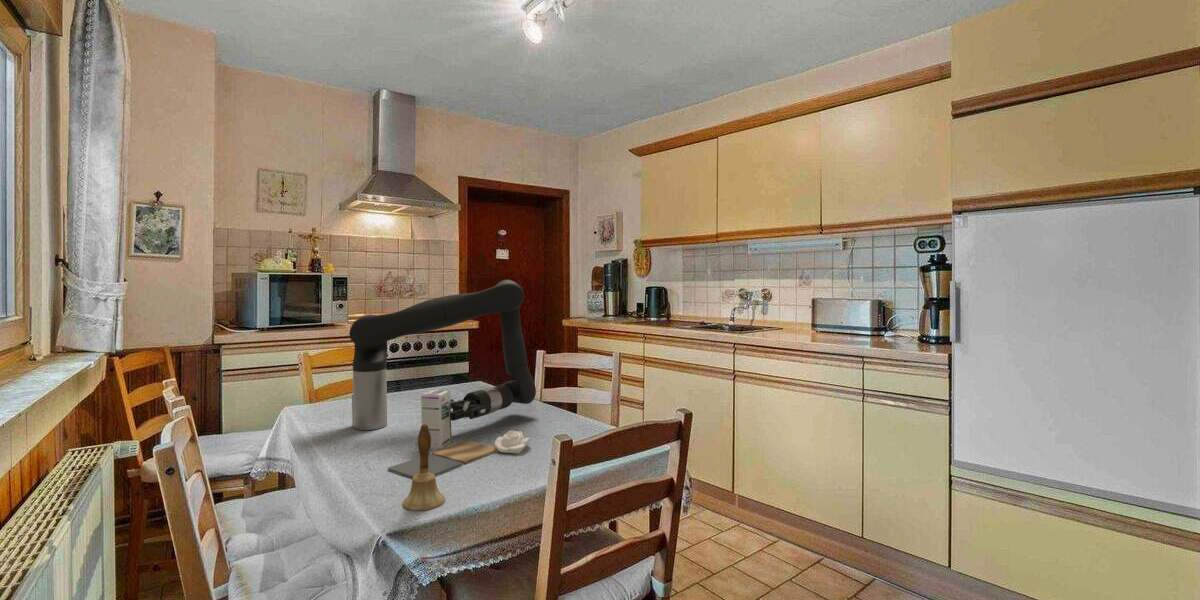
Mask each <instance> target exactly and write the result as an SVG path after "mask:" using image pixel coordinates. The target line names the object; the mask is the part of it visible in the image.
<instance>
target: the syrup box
mask: <svg viewBox="0 0 1200 600" xmlns="http://www.w3.org/2000/svg"><path fill="white" fill-rule="evenodd" d="M450 400H451V391H450V390H445V389H431V390H429V391H427V392H425V393H421V394H420V410H421V414H420V415H421V426H422V425H428V429H429V432H430V435H431V446H430V449H437V450H440V449H443V448H445V447H447V445H449V444H451V443H452V442H453V441H452V420H450V414H451V411H452V409H451V405H450Z"/></svg>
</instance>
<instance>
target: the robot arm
mask: <svg viewBox="0 0 1200 600" xmlns="http://www.w3.org/2000/svg"><path fill="white" fill-rule="evenodd" d="M524 299H525V293H524V290H523V288H522V287H521V285H519V283H517V282H515V281H514V280H511V279H503V280H501V281H499V282H497V283H496V284H495V285H494V286H491V287H489V288H486V289H483V290H480V291H477V292H471V293H468V292H467V293H458V294H457V293H455V294H450V295H449V294H448V295H443V296H440V297H435V298H432V299H427V300H425V301H422V302H418V303H416V304H414V305H411V306H409V307H406V308H404V309H400V310H397V311H395V312H391V313H386V314H379V315H376V314H375V315H374V314H366V315H364V316H361V317H359V318H357V319H355V321H353V323H352V324H351V326H350V329H349V332H348V333H349V338H350V340H351V342H352V343H353V344H354V354H353V358H352V359H353V360H352V385H353V386H352V391H353V393H352V395H351V415H352V416H351V417H352V420H351V421H352V422H351V423H352V425H351V426H353V428H354V429H355V430H358V431H359V430H360V431H368V430H369V431H372V430H379V429H382V428H384V427H386V426H387V425H388V393H387V392H388V390H387V389H388V388H387V386H388V385H387V382H388V380H387V360H388V342H389V341H391V340H395V339H398V338H401V337H404V336H409V335H415V334H421V333H427V332H432V331H435V330H441V329H443V328H447V327H451V326H454V325H458V324H461V323H465V322H467V321H470V320H472V319H476V318H478V317H482V316H487V315H491V314H492V315H493V314H498V316H499V321H500V326H501V335H502V349H503V360H504V366H505V367H504V368H505V371H506V374H508V375H509V376H511V377H513V378H514V379H515V380H509V381H505V382H503V383H502V384H500V385H497V386H494V387H493V386H492V387H487V388H484V389H483V388H482V389H479V390H475V391H474V390H473V391H471V392H468V393H467V394H465V395H464V397H463V399H457V400H455V399H453V398H450V405H451V414H450V420H451V422H453V421H457V420H461V419H466V420H467V419H470V420H474V419H477V418H480V417H481V418H482V417H484V416H487V415H490V414H493V413H494V412H497V411H500V410H503V409H506V408H508V407H510V406H511V405H512V403H514V404H521V405H522V404H523V405H524V404H525V405H529V404H532V402H533V401H534V400H535V398H536V394H537V388H536V385H535V382H534V379H533V375H532V374H531V371H530V368H529V367H528V365H529V364H528V357H527V351H526V344H525V340H524V339H525V338H524V334H523V329H522V324H521V313H520V311H521V310H520V309H521V305H522V303H524Z"/></svg>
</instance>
